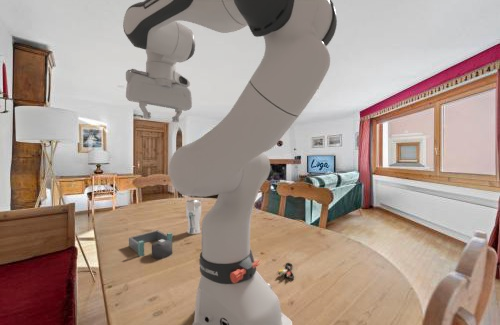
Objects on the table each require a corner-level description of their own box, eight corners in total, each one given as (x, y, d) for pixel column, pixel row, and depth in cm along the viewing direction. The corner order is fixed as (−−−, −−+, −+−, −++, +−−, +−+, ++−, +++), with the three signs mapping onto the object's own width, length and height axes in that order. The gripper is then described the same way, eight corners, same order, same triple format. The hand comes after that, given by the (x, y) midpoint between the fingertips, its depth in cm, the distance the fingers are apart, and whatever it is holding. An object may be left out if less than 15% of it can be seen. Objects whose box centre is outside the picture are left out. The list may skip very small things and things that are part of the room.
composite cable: (286, 264, 71) (286, 257, 71) (300, 268, 69) (300, 260, 69) (275, 279, 63) (275, 271, 63) (291, 284, 60) (291, 275, 60)
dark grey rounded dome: (175, 254, 79) (175, 240, 79) (157, 261, 74) (156, 246, 73) (166, 248, 83) (166, 235, 83) (148, 254, 78) (148, 240, 78)
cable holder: (172, 245, 86) (172, 233, 86) (139, 256, 77) (139, 242, 76) (158, 237, 94) (158, 226, 94) (127, 246, 85) (127, 234, 85)
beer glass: (186, 235, 96) (185, 202, 96) (186, 230, 103) (186, 199, 103) (201, 234, 98) (201, 202, 98) (201, 229, 105) (200, 199, 104)
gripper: (129, 63, 58) (130, 114, 58) (194, 82, 73) (194, 122, 74) (121, 69, 62) (122, 117, 63) (184, 86, 77) (184, 124, 78)
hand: (162, 120), depth 68 cm, fingers open, 8 cm apart
